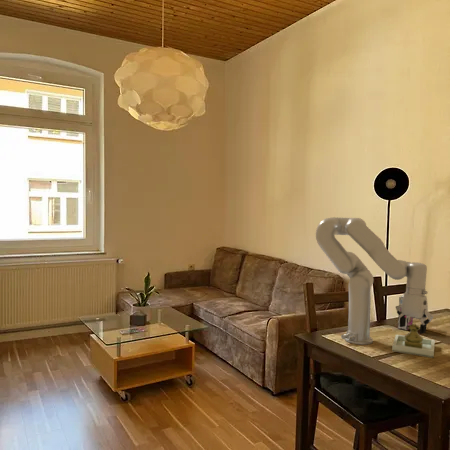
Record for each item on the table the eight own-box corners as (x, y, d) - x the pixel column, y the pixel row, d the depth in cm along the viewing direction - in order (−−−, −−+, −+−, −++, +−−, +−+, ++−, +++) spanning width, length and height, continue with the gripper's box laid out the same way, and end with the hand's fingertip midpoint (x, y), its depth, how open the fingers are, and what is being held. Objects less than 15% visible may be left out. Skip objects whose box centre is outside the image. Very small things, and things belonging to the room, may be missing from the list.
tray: (433, 358, 177) (433, 351, 177) (392, 351, 184) (392, 344, 184) (434, 346, 191) (434, 340, 191) (395, 340, 198) (396, 334, 198)
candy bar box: (408, 330, 213) (409, 298, 212) (397, 329, 216) (398, 296, 215) (413, 325, 222) (414, 294, 221) (403, 323, 225) (404, 292, 224)
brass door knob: (413, 350, 183) (414, 327, 182) (400, 345, 190) (401, 322, 189) (426, 348, 186) (427, 325, 185) (412, 343, 193) (413, 321, 192)
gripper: (439, 294, 181) (436, 334, 182) (402, 286, 195) (400, 323, 197) (429, 296, 177) (425, 337, 178) (392, 287, 191) (389, 325, 193)
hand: (412, 329), depth 188 cm, fingers open, 9 cm apart
